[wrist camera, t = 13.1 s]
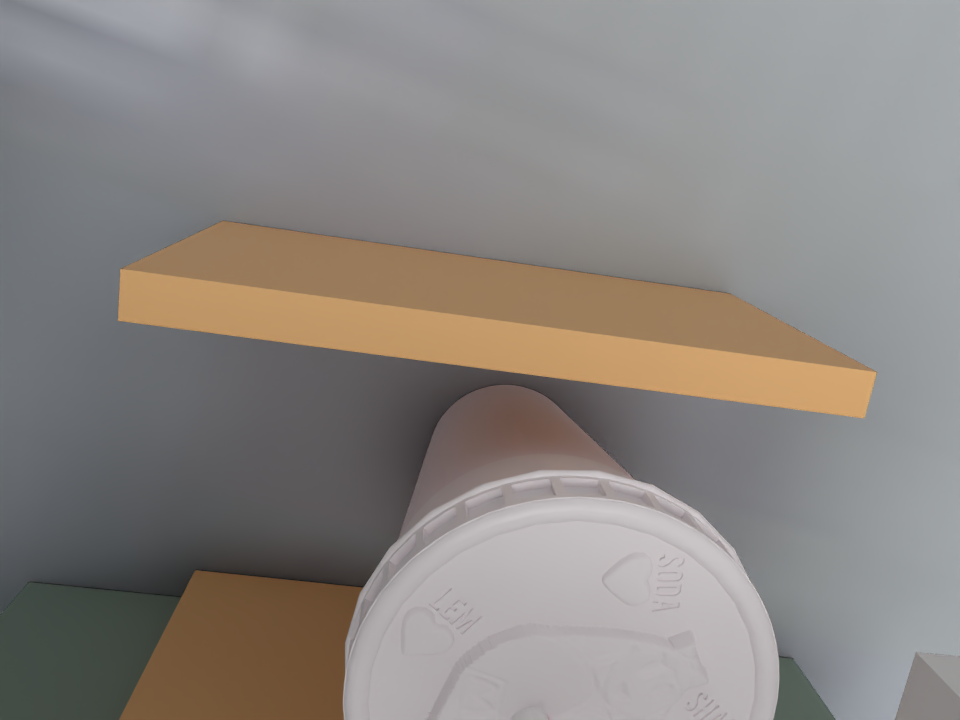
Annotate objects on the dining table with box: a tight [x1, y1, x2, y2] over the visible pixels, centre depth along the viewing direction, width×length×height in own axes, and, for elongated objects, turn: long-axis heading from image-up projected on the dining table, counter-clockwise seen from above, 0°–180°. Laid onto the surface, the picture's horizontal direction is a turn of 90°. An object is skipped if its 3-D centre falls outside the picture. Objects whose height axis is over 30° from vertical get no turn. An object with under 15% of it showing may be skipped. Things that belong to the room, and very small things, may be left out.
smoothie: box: [343, 385, 779, 720], centre depth 15 cm, size 6×6×14 cm
